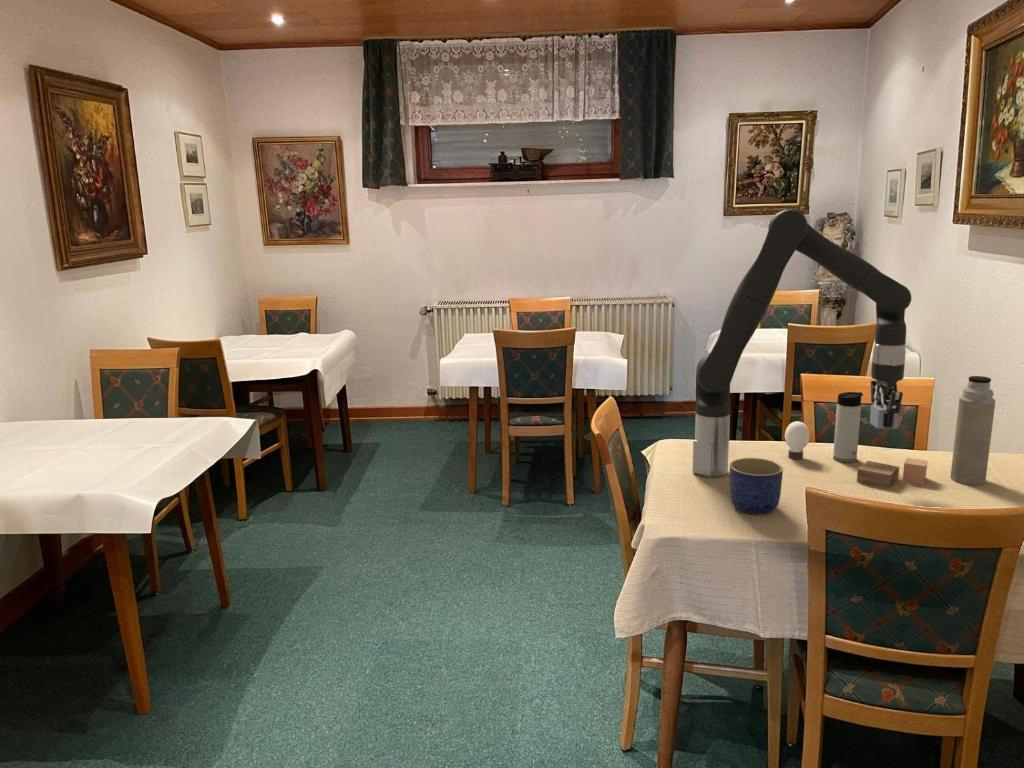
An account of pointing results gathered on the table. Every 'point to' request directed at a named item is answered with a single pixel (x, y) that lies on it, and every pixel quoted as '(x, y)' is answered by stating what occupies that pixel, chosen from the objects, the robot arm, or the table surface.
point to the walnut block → (878, 474)
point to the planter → (755, 484)
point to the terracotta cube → (915, 470)
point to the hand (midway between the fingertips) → (883, 423)
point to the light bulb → (796, 439)
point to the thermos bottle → (973, 432)
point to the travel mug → (847, 427)
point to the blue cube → (880, 417)
